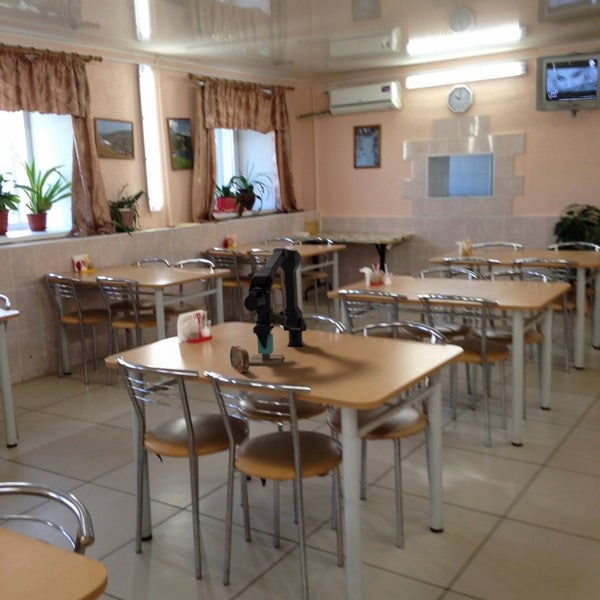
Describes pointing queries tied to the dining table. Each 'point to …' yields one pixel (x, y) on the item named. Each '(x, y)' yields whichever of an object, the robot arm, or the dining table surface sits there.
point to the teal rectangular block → (269, 347)
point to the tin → (239, 359)
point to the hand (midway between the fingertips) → (265, 346)
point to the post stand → (266, 359)
